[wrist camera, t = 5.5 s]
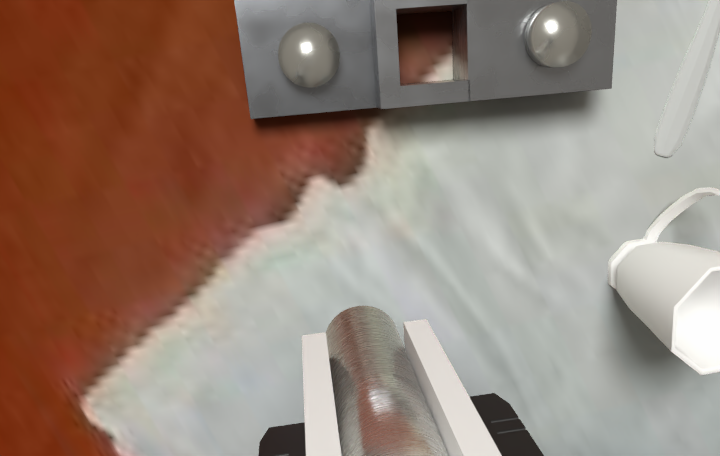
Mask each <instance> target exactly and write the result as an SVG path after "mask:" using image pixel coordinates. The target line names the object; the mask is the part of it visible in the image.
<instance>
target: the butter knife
mask: <svg viewBox="0 0 720 456" xmlns="http://www.w3.org/2000/svg"><path fill="white" fill-rule="evenodd" d="M719 32H720V0H709V1H708V4H707V7H706V9H705V12H704V14H703V17H702V19H701V21H700V24H699V26H698V28H697V30H696V33H695V35H694V37H693V39H692V41H691V43H690V46H689V48H688V50H687V52H686V54H685V57H684V59H683V61H682V64H681V66H680V69H679V71H678V74H677V76H676V79H675V81H674V84H673V86H672V89H671V91H670V94H669V96H668V99H667V102H666V104H665V107H664V109H663V112H662V115H661V118H660V121H659V124H658V127H657V130H656V134H655V137H654V153H655V154H656V155H659V156H664V157H670V156H672V155H673V154H674V153H675V152H676V150H677V149H678V148H679V147H680V146H681V145H682V142H683V140H684V138H685V136H686V134H687V131H688V129H689V126H690V124H691V121H692V119H693V116H694V113H695V110H696V107H697V104H698V101H699V99H700V96H701V93H702V90H703V87H704V84H705V81H706V78H707V75H708V72H709V68H710V65H711V62H712V58H713V54H714V50H715V46H716V43H717V39H718V35H719Z"/></svg>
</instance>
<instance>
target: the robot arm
mask: <svg viewBox="0 0 720 456" xmlns="http://www.w3.org/2000/svg"><path fill="white" fill-rule="evenodd" d="M403 324H404V340H405V351H406V353H407V356H408V358H409V360H410V363H411V365H412V368H413V370H414V373H415V375H416V377H417V380H418V382H419V385H420V387H421V390H422V392H423V394H424V397H425V399H426V402H427V404H428V406H429V409H430V411H431V414H432V416H433V419H434V421H435V423H436V426H437V428H438V431H439V433H440V436H441V438H442V440H443V443H444V445H445V448H446V450H447V452H448V455H449V456H544V455H543V454H542V452H541V451H540V449H539V448H538V446H537V445H536V443H535V442H534V440H533V439H532V437H531V436H530V434H529V433H528V431H527V430H525V426H524V425H523V423H522V422H521V420H520V419H518V416H517V414H516V413H515V411H514V410H513V408H512V407H511V405H510V404H509V403H508V402H506V401H505V400H503V399H502V398H501V397H499V396H498V395H496V394H495V393H492V394H486V395H479V396H472V397H469V395H468V394H467V392H466V390H465V388H464V386H463V385H462V383H461V381H460V379H459V377H458V376H457V374H456V372H455V370H454V368H453V367H452V365H451V363H450V361H449V359H448V357H447V356H446V354H445V352H444V350H443V348H442V347H441V345H440V343H439V341H438V339H437V338H436V336H435V334H434V332H433V330H432V328H431V327H430V325H429V323H428V321H427V319H424V320H416V321H409V322H403ZM302 356H303V385H304V414H305V422H304V423H298V424H291V425H284V426H277V427H271V428H269V429H268V430H267V432H266V433H265V435H264V436H263V438H262V440H261V441H260V446H259V456H342V455H341V448H340V440H339V432H338V424H337V417H336V409H335V401H334V393H333V386H332V378H331V370H330V362H329V354H328V347H327V339H326V332H325V333H317V334H309V335H302Z"/></svg>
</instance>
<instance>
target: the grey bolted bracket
mask: <svg viewBox="0 0 720 456" xmlns="http://www.w3.org/2000/svg"><path fill="white" fill-rule="evenodd" d="M234 1H235V8H236V15H237V23H238V30H239V37H240V44H241V52H242V59H243V66H244V73H245V81H246V88H247V95H248V102H249V109H250V117H251V119H254V118H266V117H277V116H288V115H299V114H310V113H321V112H333V111H344V110H355V109H366V108H379V109H389V108H400V107H411V106H422V105H433V104H444V103H455V102H467V101H478V100H489V99H500V98H511V97H522V96H533V95H544V94H555V93H567V92H578V91H589V90H600V89H611V88H612V72H613V55H614V39H615V23H616V6H617V0H234ZM438 11H452V39H453V79H454V80H444V81H432V82H421V83H409V84H400V73H399V54H398V36H397V17H396V15H397V14H410V13H424V12H438Z"/></svg>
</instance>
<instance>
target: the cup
mask: <svg viewBox="0 0 720 456" xmlns="http://www.w3.org/2000/svg"><path fill="white" fill-rule="evenodd" d="M712 195H719V196H720V189H716V188H713V187H710V188H697V189H695V190H693V191H691V192H689V193H688V194H686V195H684V196H682V197H681V198H680V199H678V200H677V201H676V202H675V203H673V204H672V205H671V206H670V207H669V208H668V209H666V210H665V211H664V212H663V213H662V214H661V215H659V216H658V218H657V219H656V220H655V221H654V222H653V223H652V224H651V226H650V227H649V228H648V229H647V231H646V234H645V236H644V238H643V239H638V240H632V241H626V242H624V244H623V245H622V246H621V247H620V248H619V249H618V250H617V251H616V253H615V254H614V255H613V256H612V257H611V258H610V259H609V260H608V284H609V285H611V286H612V287H613V288H614V289H616V290H617V292H618V293H619V295H620V296H621V297H622V299H623V300H624V302H625V303H626V304H627V306H628V307H629V309H630V310H631V311H632V312H633V313H634V314H635V315H636V316H637V317H638V318H639V319H640V320H641V321H642V322H643V323H644V324H645V325H646V326H647V327H648V328H649V329H650V330H651V331H652V332H653V333H654V334H655V335H656V336H657V337H658V338H659V339H660V340H661V342H662V343H663V344H664V345H665V346H666V347H667V348H668V349H669V350H670V351H671V352H673V353H674V354H675V355H676V356H678V357H679V358H680V359H681V360H683V361H684V362H685V363H686V364H688V365H689V366H690V367H691V368H693V369H694V370H695V371H697V372H698V373H699V374H700V375H706V374H711V373H716V372H720V252H719V251H714V250H710V249H706V248H702V247H697V246H693V245H689V244H680V243H669V242H657V243H656V241H657V239H658V236H659V234H660V233H661V231H662V230H663V229H664V228H665V227H666V226H667V225H668V224H669V223H670V221H672V220H673V219H674V218H675V217H677V216H678V215H679V214H680V213H681V212H683V211H684V210H685V209H687V208H688V207H689V206H691V205H692V204H693V203H695V202H697V201H698V200H700V199H702V198H704V197H706V196H712Z"/></svg>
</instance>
